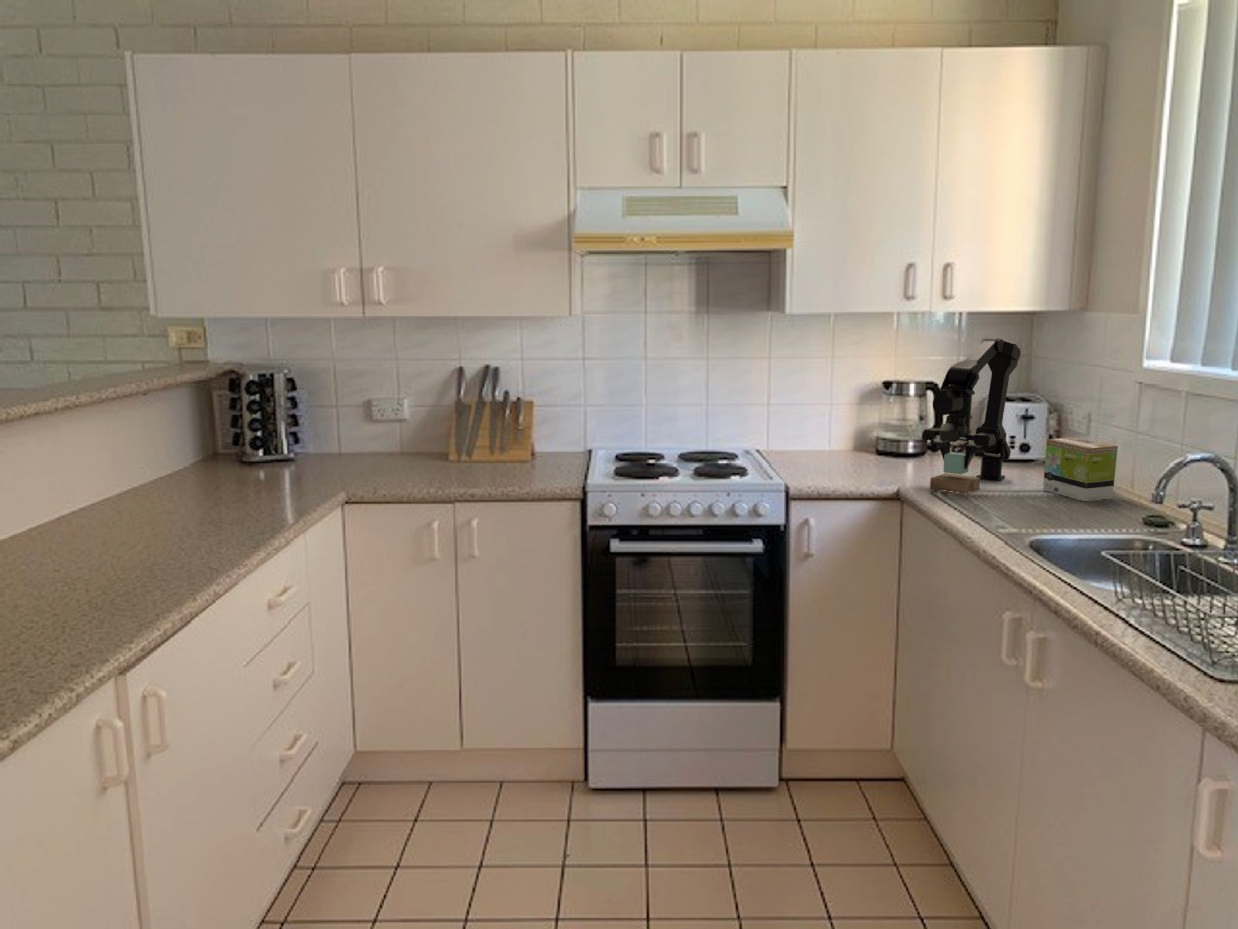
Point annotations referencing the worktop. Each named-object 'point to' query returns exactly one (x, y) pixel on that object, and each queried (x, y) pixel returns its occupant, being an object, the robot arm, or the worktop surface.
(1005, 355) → the robot arm
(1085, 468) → the tea box
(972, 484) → the walnut block
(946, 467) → the teal cube
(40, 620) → the worktop surface
